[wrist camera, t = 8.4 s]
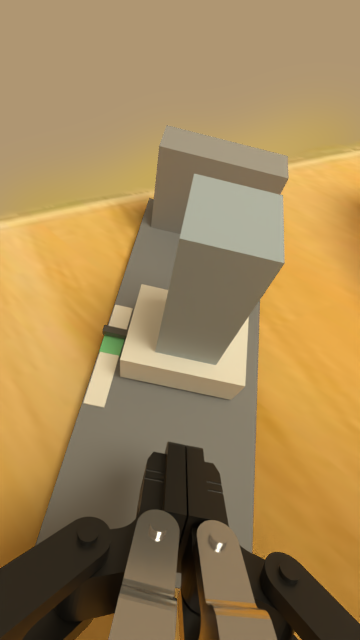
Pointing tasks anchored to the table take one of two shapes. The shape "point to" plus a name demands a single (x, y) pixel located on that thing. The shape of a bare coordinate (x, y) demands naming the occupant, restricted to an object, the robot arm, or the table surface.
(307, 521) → the table surface
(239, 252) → the gauge slider
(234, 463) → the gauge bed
